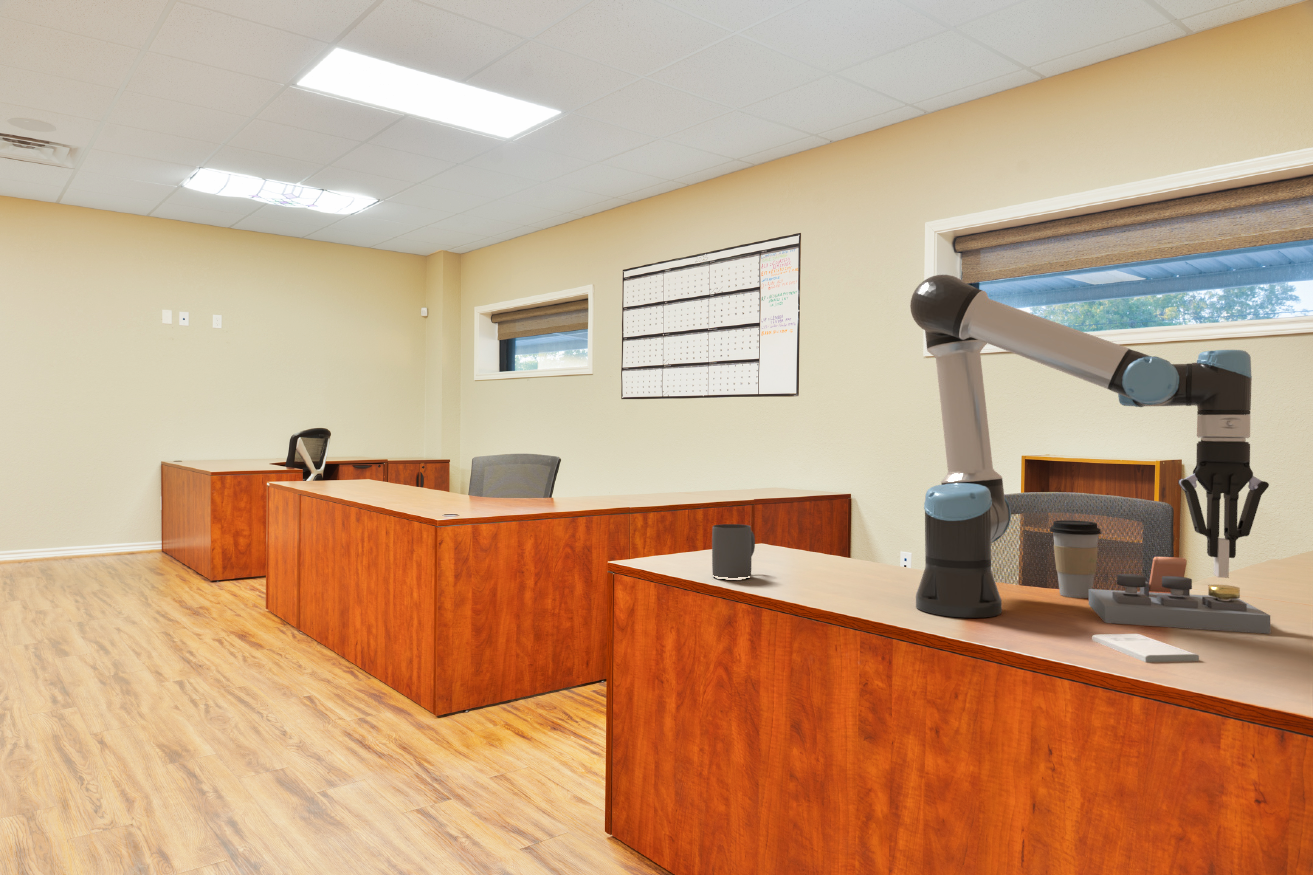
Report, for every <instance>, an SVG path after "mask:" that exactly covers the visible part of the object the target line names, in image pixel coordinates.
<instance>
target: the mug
mask: <svg viewBox="0 0 1313 875" xmlns="http://www.w3.org/2000/svg"><path fill="white" fill-rule="evenodd" d="M711 535H712V536H711V547H712V548H711V556H712V558H711V561H712V562H711V564H712V576H713V575H714V576H718V577H728V578H738V577H748V576H751V577H752V557H753V555H754V552H755V548H756V536H755V534H754V532H753V531H752V527H751V525H748V524H739V523H724V524H723V523H721V524H714V525H713V526H712V532H711Z"/></svg>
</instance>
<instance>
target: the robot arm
mask: <svg viewBox="0 0 1313 875" xmlns="http://www.w3.org/2000/svg"><path fill="white" fill-rule="evenodd" d="M909 304H910V305H909V306H910V313H911V316H912V318H913V321H914V322H915V323H916V325H917V326H918V327H920V328H921V329H922V330H924V332H925V333H924V334H925V342H926V343H925V344H926V350H927V352H928V353H929V354H930V355H932V356H933V357H934V358H935V364H936V372H937V373H936V374H937V380H938V381H937V382H938V389H939V390H938V392H939V402H940V409H941V410H940V411H941V418H942V419H941V420H942V428H943V429H942V430H943V438H944V446H945V455H946V456H945V457H946V468H947V473H946V475H945V476H944V478H943V479H942V480H941V481H940V484H937V485H933V486H931V487H930V488H929V489H927V490H926V492H925V499H924V500H925V501H924V503H923V506H924V507H923V509H924V534H925V535H924V538H925V539H924V541H925V542H924V543H925V544H924V547H925V548H924V551H925V555H924V556H925V557H924V559H925V560H924V561H925V566H924V571H923V573H922V576H921V579H920V583H919V585H918V587H917V591H916V595H915V608H916V609H917V610H920V611H921V612H925V613H928V614H933V615H938V616H943V617H944V616H945V617H952V618H972V619H974V618H978V619H979V618H990V617H996V616H998V615H1001V614H1002V611H1003V609H1002V604H1003V603H1002V602H1003V601H1002V598H1001V596H1000V592H999V590H998V587H997V584H996V580H995V577H994V574H993V573H992V543H995V542H997V541H998V540H999V539H1000V538H1001V537H1002V536H1003V535H1004V534H1005V533H1006V532H1007V530H1008V528H1009V526H1010V524H1011V518H1012V511H1011V506H1010V503H1009V502H1008V499H1007V498H1006V496H1005V490H1004V482H1003V476H1002V475H1000V474H999V472H997V471H996V470H995V469H994V468H993V467H994V466H993V457H992V448H991V440H990V431H989V429H990V428H989V421H988V412H987V411H988V410H987V403H986V395H985V393H986V392H985V384H984V376H983V368H982V367H983V366H982V356H981V352H982V350H983V349H984V348H985V346H986V345H987V344H988V345H992V346H993V347H996V348H999V349H1002V350H1004V351H1007V352H1010V353H1012V354H1015V355H1016V356H1017V355H1018V356H1020V357H1022V358H1025V359H1028V360H1030V361H1033V362H1036V363H1038V364H1041V365H1044V366H1046V367H1049V368H1051V369H1054V370H1056V371H1059V372H1062V373H1065V374H1067V375H1069V376H1072V377H1074V378H1077V379H1080V380H1083V381H1085V382H1087V383H1091V384H1094V385H1096V386H1098V387H1101V388H1104V389H1107V390H1109V391H1111V392H1113V393H1115V394H1118V402H1119V403H1120V405H1122V406H1123V407H1136V408H1137V407H1138V408H1143V407H1176V406H1177V407H1178V406H1179V407H1180V406H1181V407H1184V406H1185V407H1186V406H1187V407H1192V406H1193V407H1194V406H1195V407H1197V414H1196V417H1197V419H1196V425H1197V426H1196V437H1197V438H1199V439H1200V440H1199V441H1197V442H1196V465H1195V468H1194V469H1193V471H1192V474H1190V475H1188V476H1186V477H1185V478H1180V479H1178V481H1177V483H1178V485H1179V486H1180V488H1181V489H1182V490H1183V492H1184V495H1185V498H1186V499H1185V500H1186V503H1187V506H1188V509H1189V514H1190V518H1191V522H1192V525H1193V529H1194V532H1195V533H1197V534H1199V535H1202V536H1204V537H1205V538H1206V540H1207V541H1206V549H1207V550H1206V554H1207V555H1208V557H1211V558H1213V563H1212V564H1213V565H1212V566H1213V572H1212V574H1213V576H1215V577H1217V578H1223V579H1224V578H1225V579H1229V576H1230V575H1229V574H1230V573H1229V572H1230V559H1235V557H1236V554H1237V540H1238V539H1239V538H1243V537H1249V535H1250V533H1251V530H1252V529H1253V528H1252V527H1253V524H1254V520H1255V517H1256V515H1257V511H1258V507H1259V504H1260V501H1261V498H1262V496H1263V494H1264V493H1265V491H1266V490H1267V489H1268V488H1269V487H1270V483H1269V482H1267V481H1265V480H1261V479H1260V478H1257V477H1256V476H1254V472H1253V470H1252V469H1251V443H1250V442H1249V441H1246V439H1249V438H1251V407H1252V406H1251V405H1252V378H1253V377H1252V361H1251V359H1252V358H1251V354H1249V352H1247V351H1246V350H1241V349H1217V350H1207V351H1202V352H1200V353H1199V354H1198V356H1197V360H1196V362H1191V363H1171V362H1170V361H1168V360H1167V359H1164V358H1162V357H1159V356H1151V355H1150V354H1149V355H1148V354H1145V353H1143V352H1140V351H1138V350H1137V351H1136V350H1133V349H1131V348H1129V347H1126V346H1123V345H1121V344H1119V343H1114V342H1113V341H1109V340H1106V339H1103V338H1100V337H1099V336H1096V335H1092V334H1090V333H1087V332H1084V331H1081V330H1078V329H1076V328H1072V327H1070V326H1067V325H1065V324H1061V323H1058V322H1057V321H1056V322H1055V321H1054V320H1053V321H1052V320H1050V319H1047V318H1045V317H1042V316H1039V315H1036V314H1033V313H1030V312H1027V311H1024V310H1022V309H1019V308H1016V307H1014V306H1011V305H1008V304H1005V303H1002V302H999V301H996V300H993V299H990V298H989V296H988V294H987V292H986V291H985V290H983V289H979V288H977V287H974V286H973V285H971V284H969V283H966V282H965V281H963V280H962V279H961V278H958V277H957V276H954V275H950V274H937V275H932V276H930V277H927V278H926V279H925V280H923V281H922V282H920V283H919V284H918V285H917V287H916V288H915V290H914V292H913V293H912V295H911V298H910V303H909ZM1197 482H1198V483H1199V484H1200V486H1201V487H1202V488H1203V489H1204V490H1205V492H1206V493H1205V496H1206V522H1205V518H1204V514H1203V510H1202V508H1201V503H1200V499H1199V495H1198V493H1197V492H1198V491H1197V490H1196V488H1197V486H1198V484H1197ZM1247 484H1248V485H1247ZM1246 485H1247V487H1248V489H1249V490H1248V492H1247V495H1246V498H1245V501H1244V505H1243V508H1242V511H1241V513H1240V514H1241V515H1240V517H1239V521H1238V504H1239V503H1238V501H1239V497H1240V495H1239V493H1240V492H1241V491H1242V489H1244V488H1245V487H1246ZM1222 494H1223V499H1224V500H1223V503H1224V505H1223V506H1224V510H1223V514H1224V515H1223V519H1224V520H1223V536H1224V537H1220V515H1221V514H1220V512H1221V511H1220V509H1221V498H1222Z"/></svg>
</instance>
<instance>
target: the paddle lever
mask: <svg viewBox="0 0 1313 875" xmlns="http://www.w3.org/2000/svg"><path fill="white" fill-rule="evenodd" d="M1151 563H1152V565H1151V570H1150V576H1149V582H1148V583H1149V592H1154V593H1171V589H1169V588H1164V587H1162V577H1163V576H1177V577H1185V573H1186V568H1187V559H1186V558H1185V557H1172V556H1171V557H1170V556H1154V557H1153V559H1152V562H1151Z"/></svg>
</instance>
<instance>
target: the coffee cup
mask: <svg viewBox="0 0 1313 875" xmlns="http://www.w3.org/2000/svg"><path fill="white" fill-rule="evenodd" d="M1052 522H1053V523H1052V526H1050V527H1049V532H1051V533H1052V534H1053V543H1054V544H1053V552H1054V561H1055V569H1056V572H1057V579H1058V580H1057V582H1058V590H1059V595H1060V596H1063V597H1067V598H1072V599H1073V598H1074V599H1089V589H1094V588H1093V587H1094V580H1095V574H1096V569H1097V559H1098V550H1099V546H1098V543H1099V535H1101V534H1102V532H1101V528H1099V527H1098V523H1097V522H1094V521H1086V520H1073V519H1072V520H1070V519H1068V520H1066V519H1061V520H1053V521H1052Z"/></svg>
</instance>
